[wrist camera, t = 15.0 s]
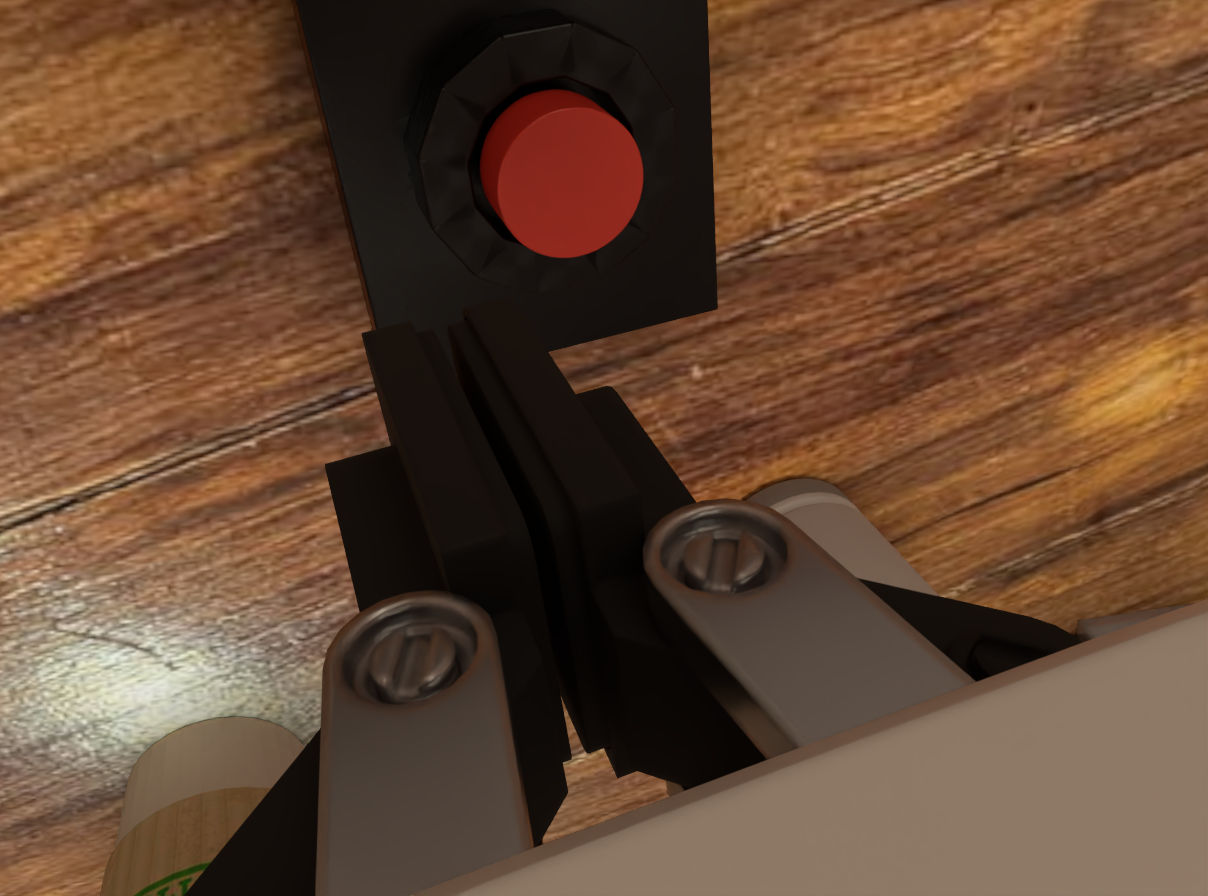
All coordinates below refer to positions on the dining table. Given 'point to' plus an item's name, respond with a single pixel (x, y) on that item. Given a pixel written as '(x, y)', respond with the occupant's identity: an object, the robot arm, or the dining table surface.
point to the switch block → (456, 136)
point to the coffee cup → (193, 801)
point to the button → (561, 173)
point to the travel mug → (841, 531)
